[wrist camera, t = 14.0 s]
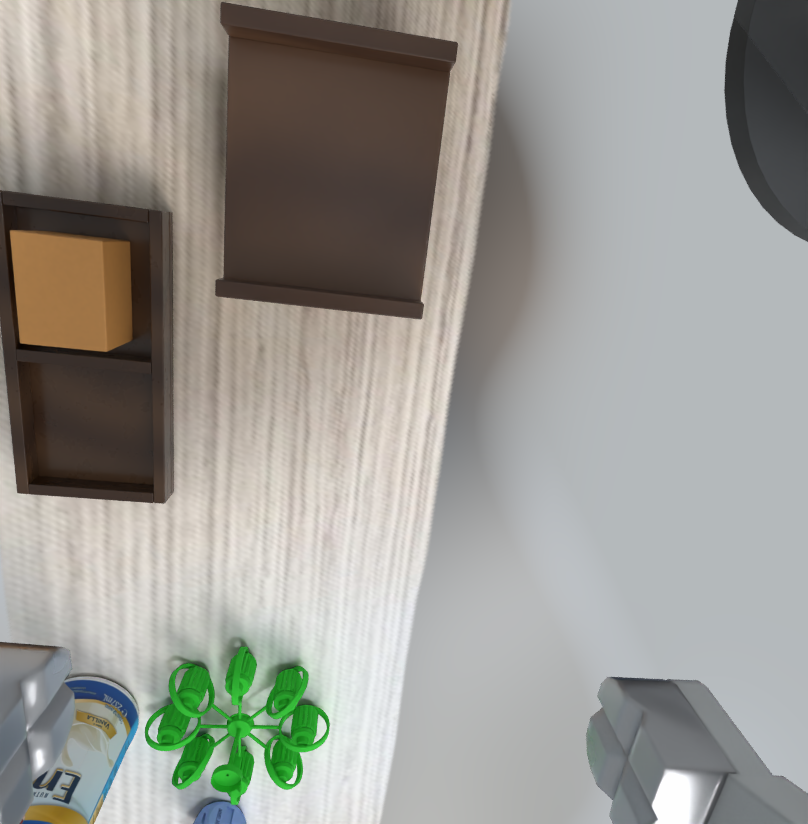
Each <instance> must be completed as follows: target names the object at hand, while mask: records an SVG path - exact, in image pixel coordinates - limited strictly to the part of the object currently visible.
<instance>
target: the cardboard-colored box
mask: <svg viewBox="0 0 808 824" xmlns="http://www.w3.org/2000/svg"><path fill="white" fill-rule="evenodd" d="M10 239H11V250H12V261H13V272H14V283H15V294H16V305H17V316H18V327H19V338H20V343H22V344H32V345H42V346H52V347H62V348H72V349H83V350H93V351H103V352H107V351H109V350H112V349H114V348H116V347H119V346H121V345H123V344H125V343H128V342H130V341H132V340H133V329H132V294H131V259H130V241H127V240H119V239H110V238H102V237H94V236H85V235H77V234H69V233H60V232H52V231H27V230H10Z"/></svg>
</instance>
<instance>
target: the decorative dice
mask: <svg viewBox="0 0 808 824" xmlns="http://www.w3.org/2000/svg"><path fill="white" fill-rule="evenodd" d="M193 824H246V820H245V817H244V815H243V813H242V812H241V810H240V809H239V808H238V807H237V806H236V805H231V803H229V802H224V801H219V802H214V803H211V804H209V805H207V806H205V807H204V808H203V809H202V810H201V812H200V813H199V815H198V816H197V818H196V820H195V821H194V823H193Z"/></svg>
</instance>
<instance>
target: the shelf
mask: <svg viewBox="0 0 808 824" xmlns="http://www.w3.org/2000/svg"><path fill="white" fill-rule="evenodd" d="M10 230H27V231H52V232H60V233H69V234H77V235H85V236H94V237H102V238H110V239H119V240H127V241H130V259H131V294H132V329H133V340H132V341H130V342H128V343H125V344H123V345H121V346H119V347H116V348H114V349H112V350H109V351H107V352H103V351H93V350H83V349H72V348H62V347H52V346H42V345H32V344H22V343H20V338H19V327H18V316H17V305H16V294H15V283H14V272H13V261H12V250H11V239H10ZM0 322H1V333H2V343H3V353H4V363H5V373H6V383H7V393H8V403H9V413H10V424H11V434H12V444H13V454H14V464H15V474H16V484H17V493H21V494H34V495H48V496H62V497H76V498H90V499H104V500H118V501H133V502H147V503H163V504H164V503H165V502H166V501H167V500H168V498H169V497H170V496H171V495H172V493H173V492H174V442H173V236H172V212H165V211H158V210H150V209H143V208H135V207H127V206H119V205H111V204H104V203H96V202H88V201H80V200H72V199H65V198H57V197H49V196H41V195H34V194H26V193H18V192H10V191H2V190H0Z"/></svg>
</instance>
